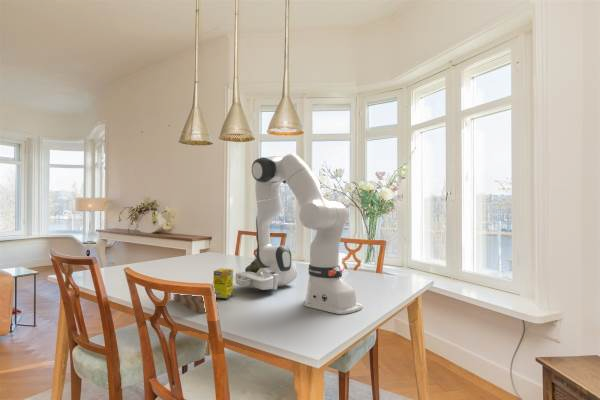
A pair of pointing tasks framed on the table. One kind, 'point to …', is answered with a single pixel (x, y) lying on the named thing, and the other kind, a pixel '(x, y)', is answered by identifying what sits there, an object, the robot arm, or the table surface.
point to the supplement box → (223, 283)
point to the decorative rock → (254, 267)
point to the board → (191, 302)
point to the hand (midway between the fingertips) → (237, 282)
